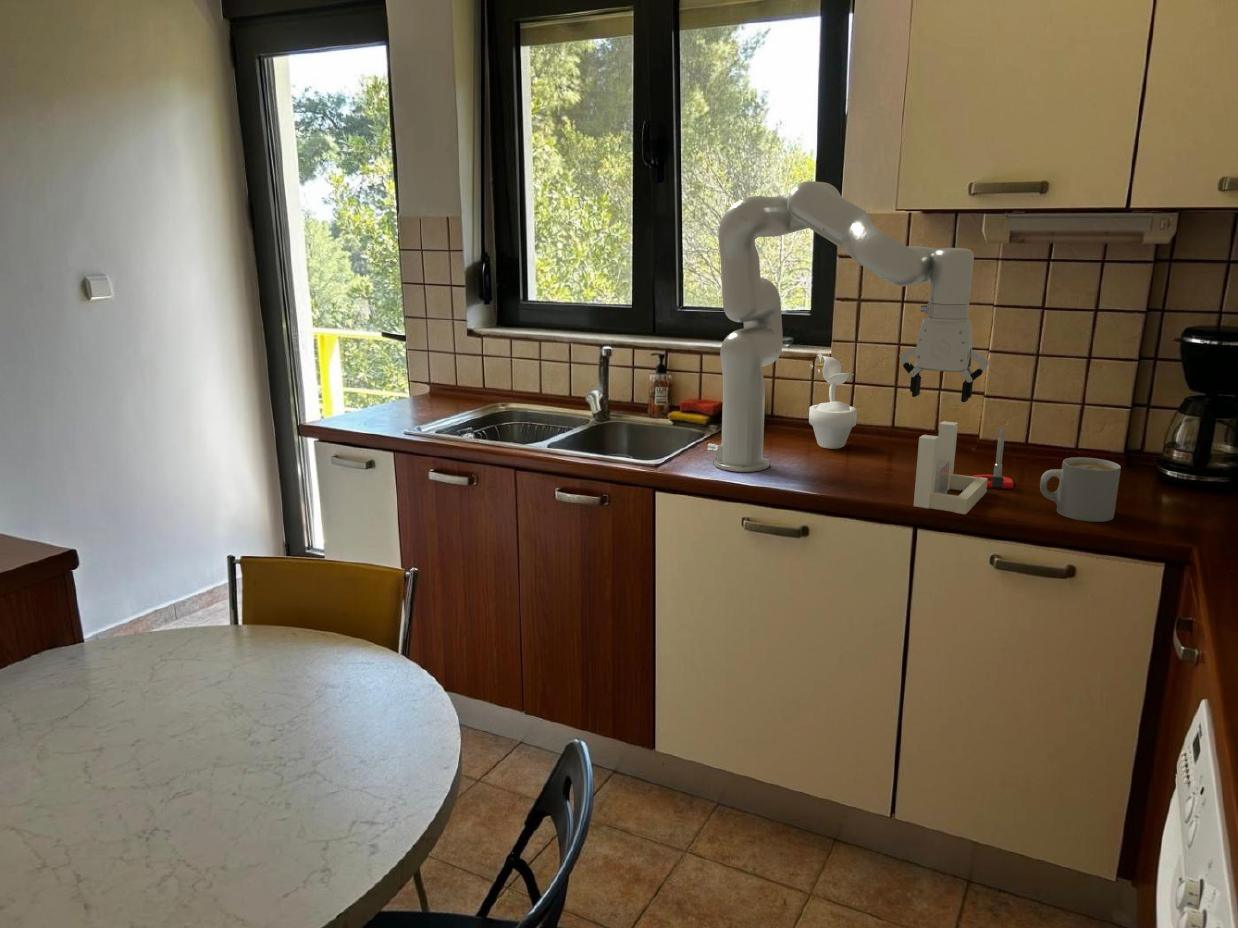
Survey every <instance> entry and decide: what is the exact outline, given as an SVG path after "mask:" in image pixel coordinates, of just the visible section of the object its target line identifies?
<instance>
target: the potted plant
mask: <svg viewBox="0 0 1238 928" xmlns="http://www.w3.org/2000/svg"><path fill="white" fill-rule="evenodd" d="M816 356H817V357H818V359H819V362H821V361H822V358H823V360H824V363H823V367H822V370H821V369H820V368H818V369H817V372H818V373H820V372H821V371H822V372H821V373H822V376H823V379H824V380H825V381H826V383H828V384H830V385H829V388H828V389H829V391H828V399H829V402H821V403H819V404H813V405H811V406H809V411H808V412H809V414H808V423H809V425H811V426H812V428H813V432H814V436H815V439H816V442H817V445H818V446H819V447H820V448H823V449H830V450H837V449H841V448H843V447H845V446H846V443H847V440H848V438H849V436H850V433H851V431H852V429H853V427H856V425H857V416H858V414H857V413H858V409H857V408H856V407H854V406H852V405H851V406H850V405H849V403H845V402H842V401H838V400H836V388H837V386H841V385H843V384H845V382H846V381H847V380H848V379H849V378H850V377H851V376H854V375H855V374H854V373H848V372H845V373H842V364H841V361H838V360H837V359H836V358H834V357H831V356H825V355H823V354H822V352H821V348H820V349H819V352H818V354H817V355H816ZM809 367H810V369H811V370H813V367H814V365H813V363H811V364H810V365H809Z"/></svg>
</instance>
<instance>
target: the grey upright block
mask: <svg viewBox="0 0 1238 928" xmlns="http://www.w3.org/2000/svg"><path fill="white" fill-rule="evenodd" d="M949 465H950V461H943V460H937V465H936V476H935V487H934V492H935V493H942V494H948V490H947V487H948V476H949Z"/></svg>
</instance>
